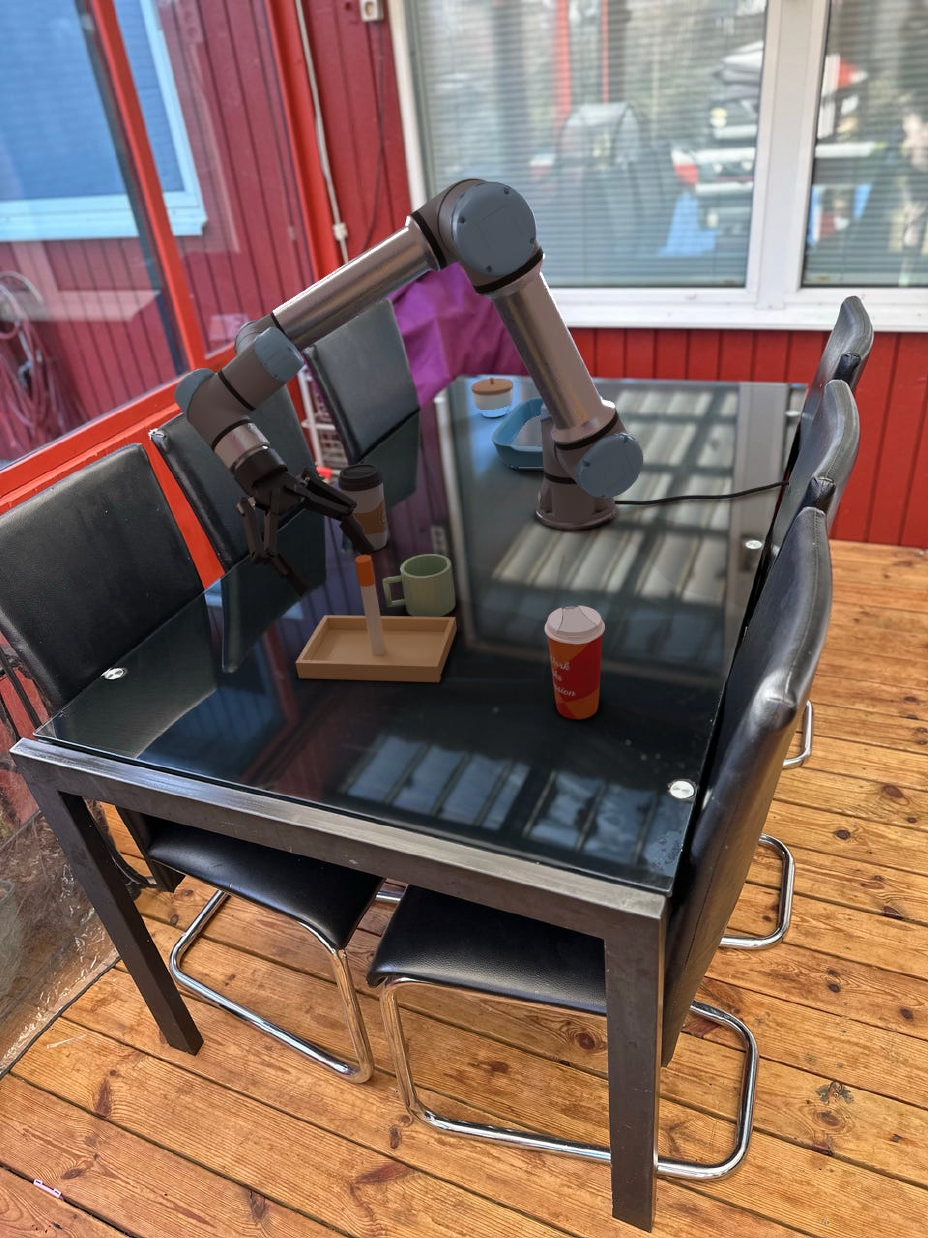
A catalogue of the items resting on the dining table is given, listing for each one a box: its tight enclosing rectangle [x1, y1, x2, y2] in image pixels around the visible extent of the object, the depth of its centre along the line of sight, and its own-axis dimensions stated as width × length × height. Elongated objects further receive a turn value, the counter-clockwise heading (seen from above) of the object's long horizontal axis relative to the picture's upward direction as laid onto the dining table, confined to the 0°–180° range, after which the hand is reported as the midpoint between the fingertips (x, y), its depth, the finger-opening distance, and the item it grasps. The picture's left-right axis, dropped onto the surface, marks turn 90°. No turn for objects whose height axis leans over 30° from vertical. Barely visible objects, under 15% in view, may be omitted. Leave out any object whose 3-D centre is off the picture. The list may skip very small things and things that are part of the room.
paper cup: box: [544, 605, 606, 720], centre depth 116 cm, size 8×8×14 cm
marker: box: [354, 554, 386, 655], centre depth 131 cm, size 2×2×16 cm
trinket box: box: [470, 377, 514, 410], centre depth 227 cm, size 11×11×9 cm
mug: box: [382, 553, 457, 617], centre depth 144 cm, size 11×8×8 cm
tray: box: [295, 614, 458, 683], centre depth 135 cm, size 22×14×3 cm, turn 80°
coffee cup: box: [337, 463, 388, 551], centre depth 166 cm, size 8×8×15 cm
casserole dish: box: [491, 396, 544, 472], centre depth 202 cm, size 37×22×7 cm, turn 162°
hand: (338, 572), depth 133 cm, fingers open, 13 cm apart
